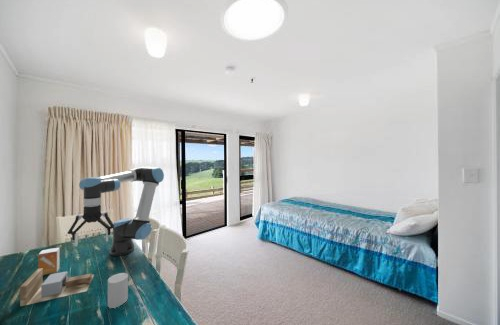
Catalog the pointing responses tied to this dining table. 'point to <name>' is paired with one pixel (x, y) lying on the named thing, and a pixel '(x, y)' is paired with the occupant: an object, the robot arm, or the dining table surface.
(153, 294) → the dining table surface
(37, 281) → the jig
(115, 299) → the light gray cylinder
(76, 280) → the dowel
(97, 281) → the dining table surface
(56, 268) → the small box
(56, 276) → the carriage
